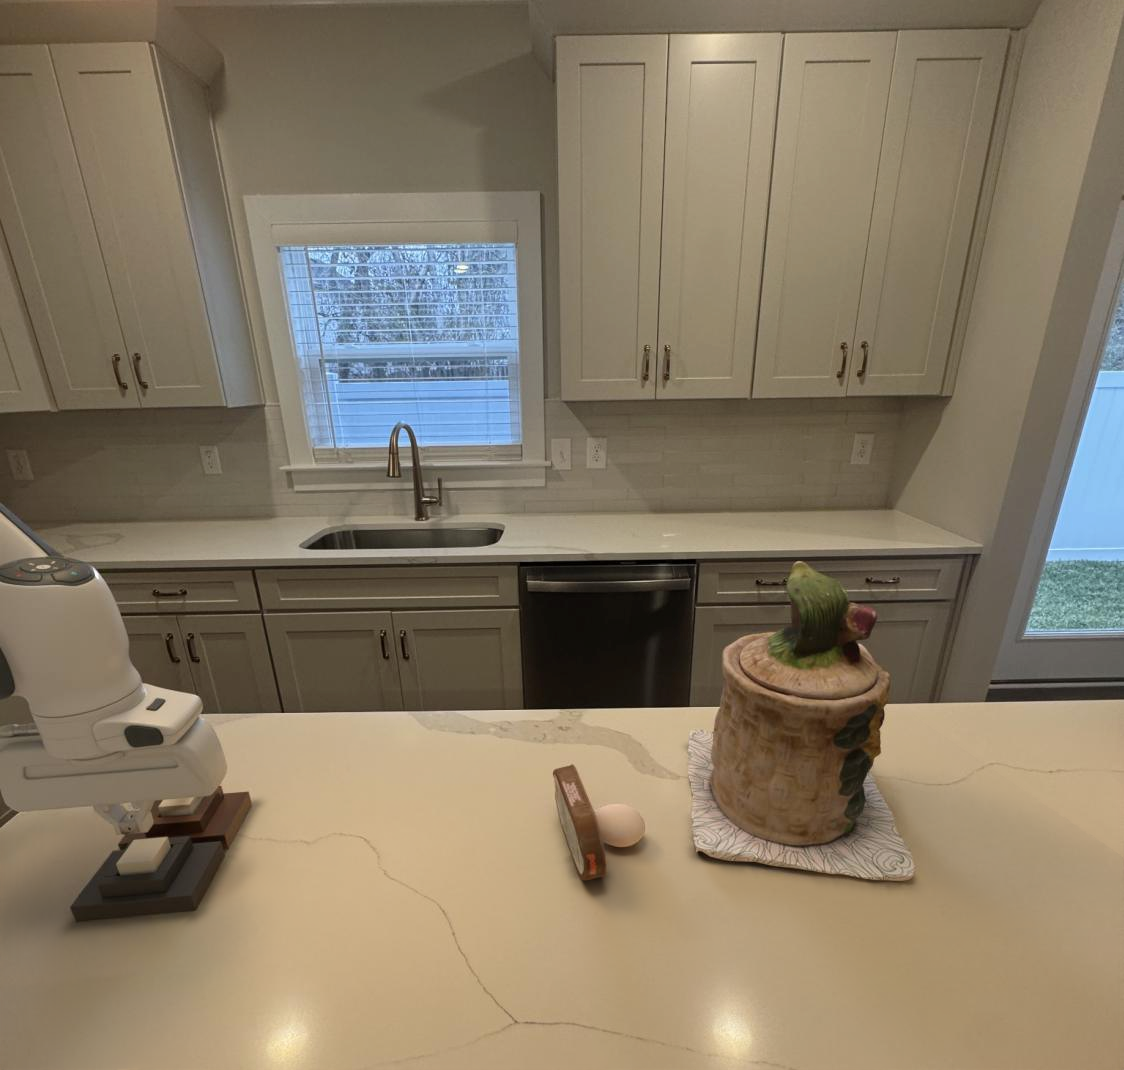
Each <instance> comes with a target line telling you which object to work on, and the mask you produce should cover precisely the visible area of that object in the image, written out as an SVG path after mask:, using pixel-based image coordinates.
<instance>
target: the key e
mask: <svg viewBox="0 0 1124 1070" xmlns="http://www.w3.org/2000/svg"><path fill="white" fill-rule="evenodd" d="M204 798H205V796H203V797H191V798H179V799H167V800H163V801H162V802H161V804H160V805H159V806H158V808H159V811H160V814H161V817H171V816H183V815H194V813H195V812H196V810H197V809H198V807H199V805H200V804H201V802H202V801H203V799H204Z"/></svg>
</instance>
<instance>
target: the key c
mask: <svg viewBox="0 0 1124 1070" xmlns="http://www.w3.org/2000/svg"><path fill="white" fill-rule="evenodd" d="M170 850H171V846H170V843H169V840H168V837H161V838H150V839H138V840H133V842H132V843H131V844H130V846H129V847H128V848H127V850H126V851H125V853H124V854H123V855H122V857H121V858H120V859H119V861H118V862H117V863H116V865H117V868H118V871H119V873H120V876H122V875H133V874H144V873H155V872H157V870H158V869H159V867H160V866H161V864H162V862H163V861H164V859H165V858H166V856H167V855H168V853H169V852H170Z"/></svg>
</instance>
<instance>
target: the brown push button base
mask: <svg viewBox="0 0 1124 1070" xmlns="http://www.w3.org/2000/svg"><path fill="white" fill-rule="evenodd" d="M162 801H163V800H155V802H154V804H153V806H152V809H151V810H150V811H151V814H152V817H153V820H154V822H153V825H152V827H151V828H150V830H149V831H148V832H145V833H133V834H123V835H124V836H123V837H122V838H121V839H120V840H119V842H118V843H117V846H118V848H119V849H118V850H124V849H125V848H126V846H127V845H128V843H129V842H130V841H133V840H138V839H150V838H161V837H168V838H170V837H182V836H190V838H191V841H192V844H195V843H206V842H217V841H221V843H222V846H223V850H229V849H230V848H231V845H232V843H233V842H234V840H235V838H236V836H237V834H238V832H239V830H240V828H241V826H242V825H243V822H244V821H245V819H246V817H247V815H248V814H249V811H250V809H251V808H252V806H253V803H252V798H251V795H250V791H237V792H236V791H235V792H224V790H223V787H222V785H219V787H218V788H217V789H216V790H215V792H214V793H213V794H212V795H210V796H205V798H204V799H203V801H202V802H201V804H200V805H199V807H198V809H197V810H196V812H195V813H194V815H183V816H171V817H161V814H160V811H159V808H158V806H159V805H160V804H161V802H162Z"/></svg>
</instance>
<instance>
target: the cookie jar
mask: <svg viewBox="0 0 1124 1070" xmlns="http://www.w3.org/2000/svg"><path fill="white" fill-rule="evenodd" d="M785 589H786V590H785V591H786V593H788V596H789V599H790V618H791V619H790V620H791V624H790V625H788V626H786V627H784V628H782V629H780V630H778V631H768V632H762V633H752V634H748V635H743V636H742V637H739V638H738V639H737V640H735V641H733V642H732V643H730V644H729V645H726V646H725V648H724V649H723V650H722V655H721V656H722V657H721V666H722V667H721V669H722V674H723V676H724V678H725V679H724V682H723V686H722V692H721V695H720V703H719V708H718V709H717V712H716V715H715V718H714V723H713V730H712V731H707V730H705V729H694V730H693V729H692V730H690V732H689V737H688V746H687V752H686V753H687V755H688V758H689V759H688V762H687V777H688V778H689V782H690V789H691V793H692V799H691V801H692V804H691V811H690V812H691V813H690V816H691V820H692V824H691V826H690V827H691V833H692V838H693V843H694V846H695V852H696V853H698V852H703V853H704V854H706V855H707V856H709V857H710V858H714V859H719V860H723V861H727V862H749V863H750V862H751V863H752V862H753V863H754V862H755V863H759V864H764V865H768V866H770V867H771V866H772V867H781V868H787V869H796V870H804V871H805V870H806V871H811V872H812V871H813V872H815V873H816V872H817V873H822V874H823V873H824V874H829V875H845V876H850V877H855V878H859V879H866V880H871V881H872V880H873V881H891V882H893V881H896V882H903V881H909V880H910V879H912V878H913V877H914V873H915V871H916V866H915V859H914V856H913V854H912V853H911V851H910V849H909V848H908V847H907V845H906V843H904V838H903V837H902V836H901V834H900V833H899V832H898V829H897V827H896V825H895V819H894V816H893V813H892V809H891V808H890V807H889V806H888V805H887V802H886V800H885V798H884V796H883V794H882V793H881V792H880V790H879V789H878V785H877V783H876V780H875V778H874V776H873V775H872V773H871V772H870V770H871V769H872V768H873V766H874V762H875V758H877V757H878V756H880V755H881V753H882V748H881V743H882V740H881V730H880V729H881V728H882V726H883V724H884V721H885V715H886V714H885V713H886V712H885V707H886V705H887V704H888V702H889V700H890V698H891V694H890V686H891V682H890V681H891V680H890V679H891V675H890V673H889V672H888V671H885V670H884V669H883V667H881V666H880V664H879V663H877V662H876V660H875V658H874V657H873V655H872V654H871V652H870V651H869V650H868V648H866V647H865V646H864V645H863V644H862V643H858V642H857V641H865V640H866V641H867V640H868V639H869V638H870V637H871V634H872V630H873V629H874V627H875V625H876V622H877V620H878V615H877V612H876V611H875V610H874V609H873V608H871V606H868V605H863V604H858V603H855V602H852V601H851V602H850V599H849V593H848V591H847V590H846V589H845V587H844V586H843V584H842V583H841V582H840V581H839V580H838V579H836V578H832V577H830V576H827V575H825V574H823V573H821V572H819V571H817V570H816V569H814V568H812V567H810V566H809V565H808V564H807V563H805V562H804V561H800V560H798V561H796V562H794V563H793V565H792V567H791V570H790V573H789V576H788V578H787V583H786V587H785Z"/></svg>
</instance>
